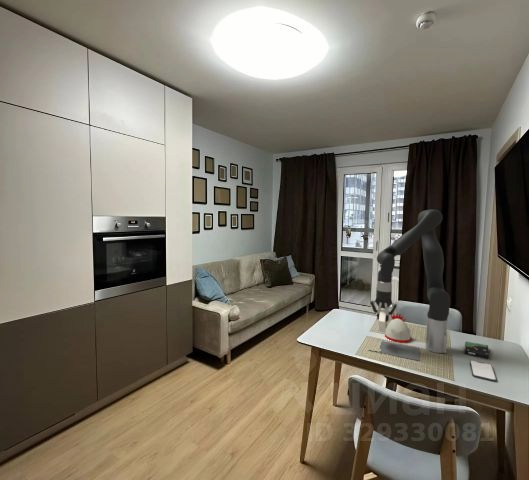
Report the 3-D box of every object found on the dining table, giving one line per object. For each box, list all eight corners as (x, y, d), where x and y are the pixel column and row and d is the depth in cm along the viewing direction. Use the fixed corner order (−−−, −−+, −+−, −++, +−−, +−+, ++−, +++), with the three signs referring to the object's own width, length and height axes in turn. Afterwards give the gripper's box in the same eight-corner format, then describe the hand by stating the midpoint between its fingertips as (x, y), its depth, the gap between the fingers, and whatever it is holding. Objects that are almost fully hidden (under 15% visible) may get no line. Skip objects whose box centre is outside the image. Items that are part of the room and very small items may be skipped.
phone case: (497, 384, 125) (491, 367, 139) (497, 380, 125) (492, 364, 139) (472, 378, 130) (469, 362, 143) (472, 374, 130) (469, 359, 143)
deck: (386, 321, 162) (386, 310, 156) (385, 332, 158) (384, 321, 152) (380, 320, 164) (380, 309, 158) (379, 331, 159) (378, 320, 153)
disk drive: (489, 361, 146) (487, 350, 158) (490, 355, 146) (488, 345, 158) (464, 355, 152) (464, 345, 164) (464, 350, 151) (464, 340, 164)
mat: (418, 348, 158) (418, 347, 158) (419, 361, 144) (419, 360, 144) (371, 339, 169) (371, 339, 169) (368, 350, 154) (368, 350, 154)
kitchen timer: (386, 331, 181) (387, 308, 180) (411, 336, 174) (412, 312, 173) (383, 339, 169) (384, 314, 168) (409, 345, 162) (410, 318, 161)
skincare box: (381, 329, 184) (382, 305, 183) (380, 326, 190) (381, 302, 189) (396, 331, 182) (397, 307, 180) (394, 327, 188) (395, 304, 187)
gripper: (398, 289, 157) (397, 321, 158) (371, 286, 163) (369, 316, 164) (398, 292, 150) (396, 325, 151) (369, 289, 156) (368, 320, 158)
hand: (382, 320), depth 158 cm, fingers closed on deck, 3 cm apart
